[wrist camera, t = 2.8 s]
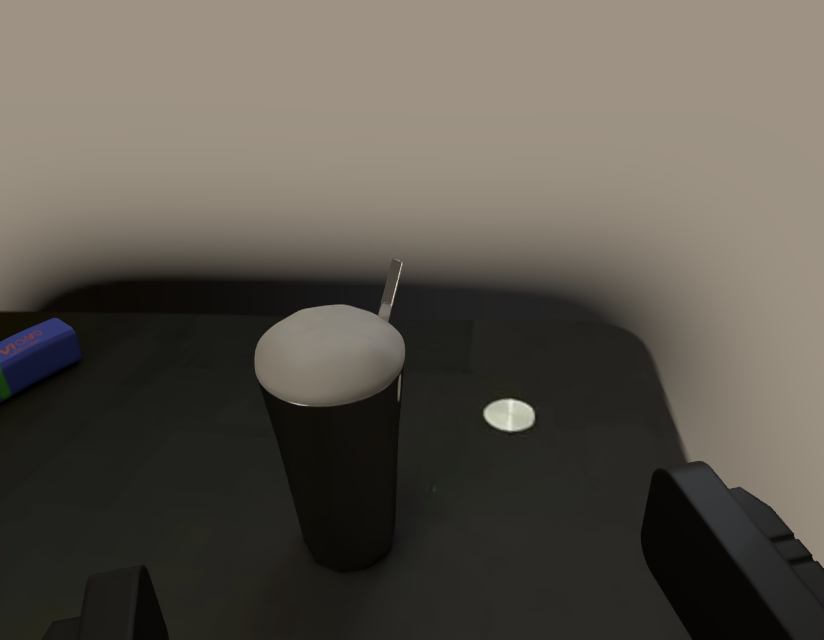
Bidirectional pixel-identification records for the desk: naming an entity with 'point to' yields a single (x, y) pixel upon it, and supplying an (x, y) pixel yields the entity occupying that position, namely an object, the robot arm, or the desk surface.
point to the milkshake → (338, 423)
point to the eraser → (36, 355)
